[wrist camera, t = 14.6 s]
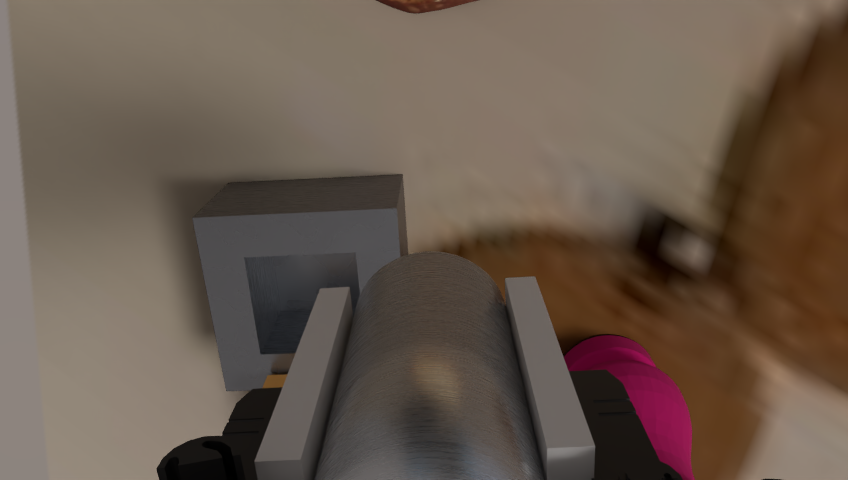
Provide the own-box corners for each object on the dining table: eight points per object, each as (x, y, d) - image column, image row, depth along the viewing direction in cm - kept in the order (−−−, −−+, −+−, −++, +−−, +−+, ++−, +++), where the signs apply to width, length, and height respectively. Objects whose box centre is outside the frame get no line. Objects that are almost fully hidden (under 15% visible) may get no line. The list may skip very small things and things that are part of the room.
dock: (228, 182, 37) (184, 225, 31) (402, 174, 37) (395, 215, 30) (279, 480, 45) (253, 565, 38) (423, 476, 45) (421, 561, 38)
